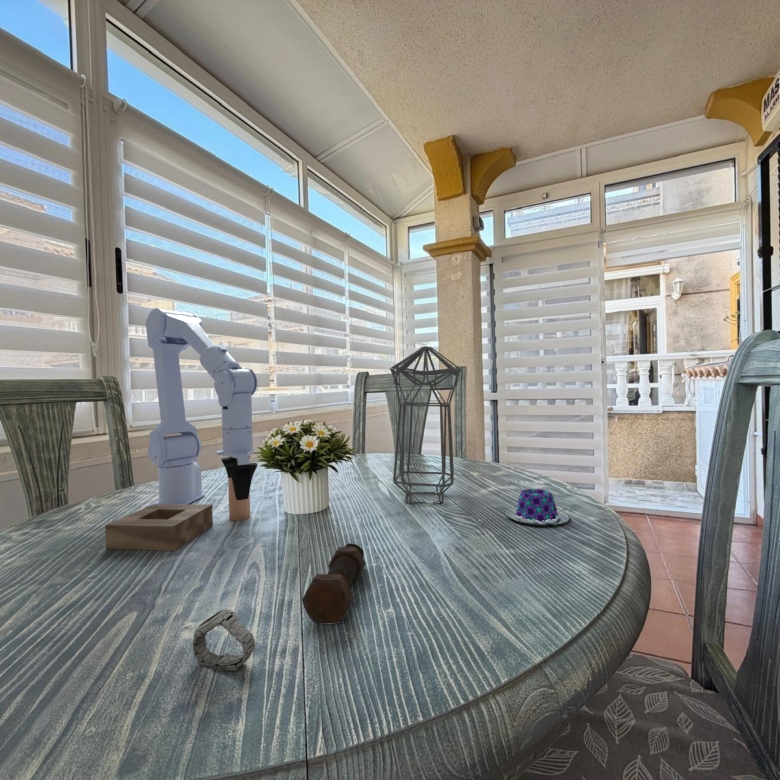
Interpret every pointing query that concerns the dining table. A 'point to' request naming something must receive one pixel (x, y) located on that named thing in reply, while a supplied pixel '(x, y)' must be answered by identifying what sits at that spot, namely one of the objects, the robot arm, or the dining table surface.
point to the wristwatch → (235, 629)
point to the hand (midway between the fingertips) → (239, 494)
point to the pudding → (536, 505)
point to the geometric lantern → (404, 366)
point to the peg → (237, 505)
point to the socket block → (159, 527)
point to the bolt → (334, 586)
